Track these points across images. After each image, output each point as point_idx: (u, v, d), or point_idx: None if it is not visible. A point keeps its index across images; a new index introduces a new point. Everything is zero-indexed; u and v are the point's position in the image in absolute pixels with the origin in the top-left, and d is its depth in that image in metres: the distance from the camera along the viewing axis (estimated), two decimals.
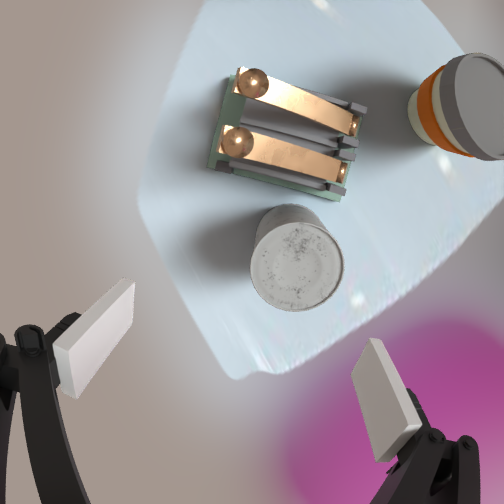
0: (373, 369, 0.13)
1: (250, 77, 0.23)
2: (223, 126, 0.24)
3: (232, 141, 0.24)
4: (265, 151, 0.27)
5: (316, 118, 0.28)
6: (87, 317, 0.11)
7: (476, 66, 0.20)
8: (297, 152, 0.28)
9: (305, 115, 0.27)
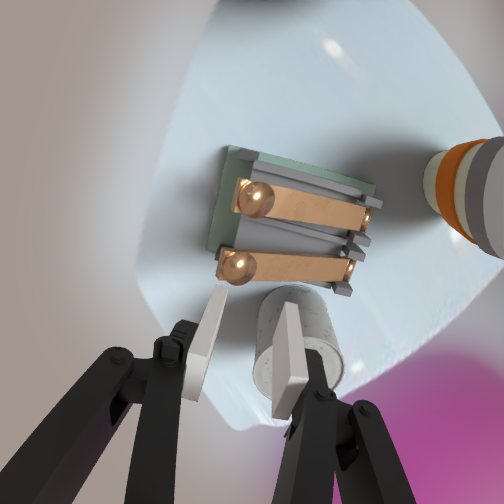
0: (282, 329, 0.15)
1: (252, 194, 0.22)
2: (223, 250, 0.23)
3: (233, 270, 0.23)
4: (269, 269, 0.26)
5: (325, 222, 0.26)
6: (206, 324, 0.13)
7: None
8: (303, 263, 0.27)
9: (314, 222, 0.26)
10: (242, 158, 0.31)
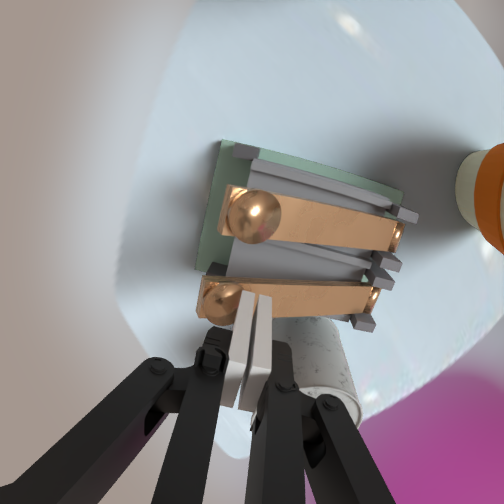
0: (254, 321, 0.16)
1: (249, 209, 0.15)
2: (204, 280, 0.17)
3: (216, 307, 0.17)
4: None
5: (348, 243, 0.20)
6: (240, 330, 0.13)
7: None
8: (314, 294, 0.21)
9: (333, 244, 0.19)
10: (238, 156, 0.24)
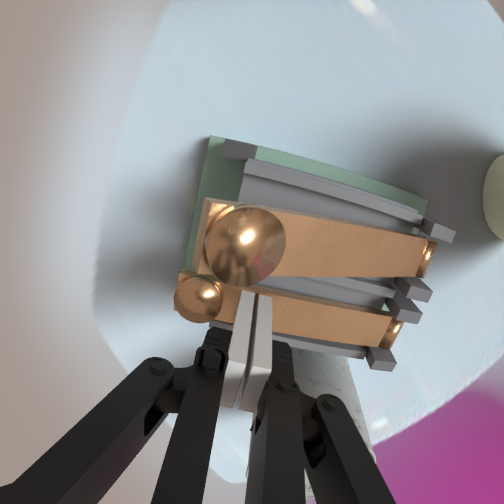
0: (254, 321, 0.16)
1: (236, 237, 0.10)
2: None
3: (186, 300, 0.17)
4: None
5: (372, 271, 0.14)
6: (240, 330, 0.13)
7: None
8: (307, 311, 0.18)
9: (354, 274, 0.14)
10: (228, 156, 0.19)
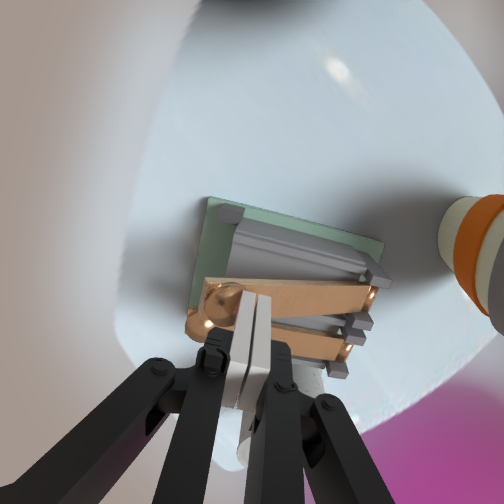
0: (253, 321, 0.16)
1: (222, 302, 0.17)
2: None
3: (193, 328, 0.24)
4: None
5: (319, 311, 0.22)
6: (241, 331, 0.13)
7: None
8: (279, 335, 0.25)
9: (304, 314, 0.21)
10: (222, 221, 0.26)
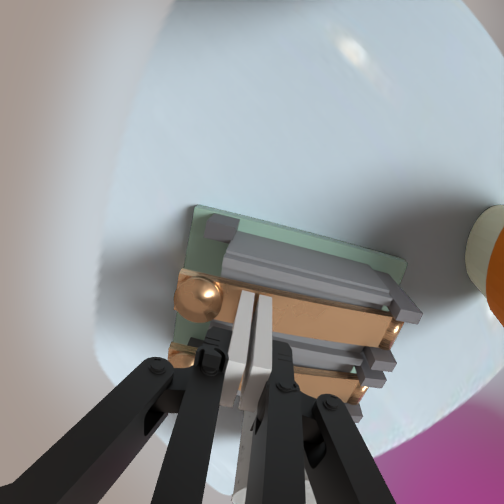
0: (254, 321, 0.16)
1: (188, 294, 0.17)
2: None
3: None
4: None
5: (316, 335, 0.18)
6: (240, 330, 0.13)
7: None
8: None
9: (296, 334, 0.18)
10: (210, 237, 0.20)
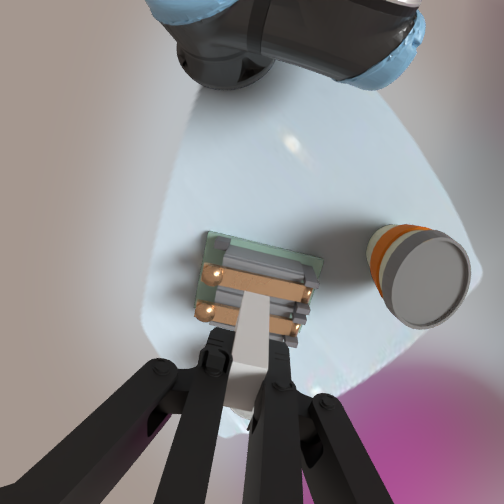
0: None
1: (208, 273, 0.39)
2: (197, 301, 0.41)
3: (200, 312, 0.41)
4: (226, 316, 0.41)
5: (267, 293, 0.40)
6: (243, 331, 0.13)
7: (425, 251, 0.31)
8: None
9: (257, 292, 0.40)
10: (217, 248, 0.43)
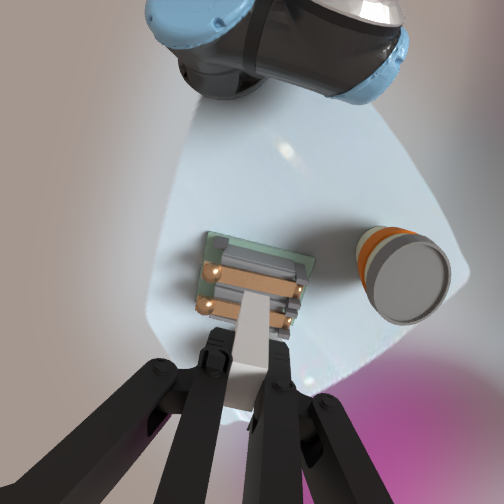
0: None
1: (208, 270, 0.43)
2: None
3: (200, 306, 0.45)
4: (224, 310, 0.46)
5: (261, 289, 0.44)
6: (243, 331, 0.13)
7: (405, 253, 0.34)
8: None
9: (252, 288, 0.44)
10: (216, 247, 0.46)
